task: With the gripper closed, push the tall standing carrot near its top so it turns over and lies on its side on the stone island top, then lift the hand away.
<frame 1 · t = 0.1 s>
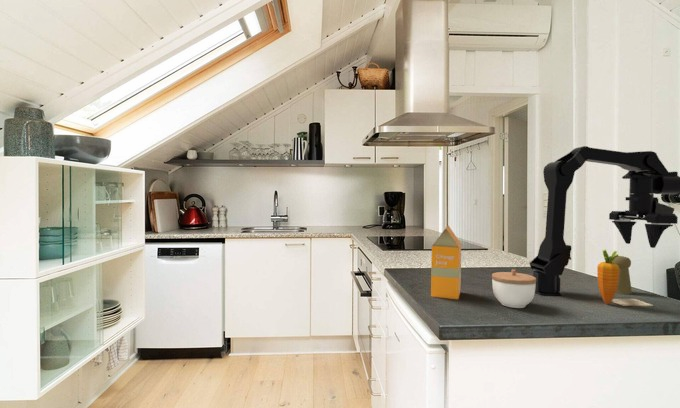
hand: (639, 245, 111), 15 cm above the countertop, fingers open, 9 cm apart
carrot: (607, 305, 99), on the countertop
lidded jar: (512, 305, 98), on the countertop
beige rectangular sheet: (629, 302, 101), on the countertop
cork: (619, 292, 113), on the countertop
orange juice: (446, 294, 108), on the countertop
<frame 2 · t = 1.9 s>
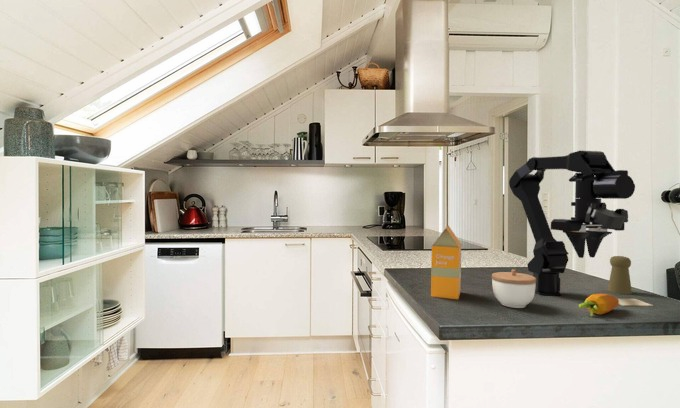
hand: (586, 257, 97), 13 cm above the countertop, fingers open, 3 cm apart
carrot: (617, 300, 96), point 2 cm above the countertop
everything else where it was.
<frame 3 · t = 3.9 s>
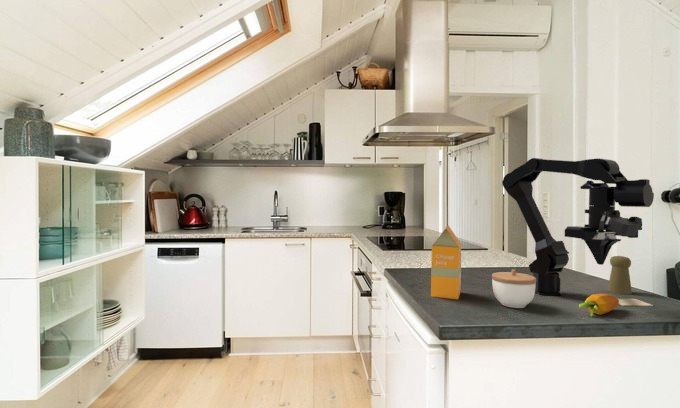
hand: (600, 264, 98), 11 cm above the countertop, fingers closed
nothing on the countertop moved.
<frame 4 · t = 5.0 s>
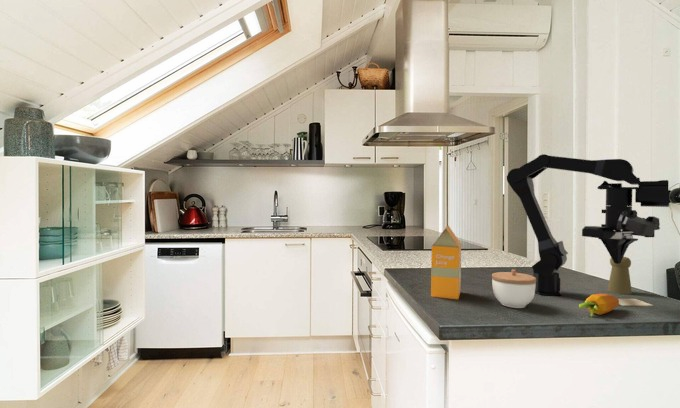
hand: (617, 263, 100), 11 cm above the countertop, fingers closed
nothing on the countertop moved.
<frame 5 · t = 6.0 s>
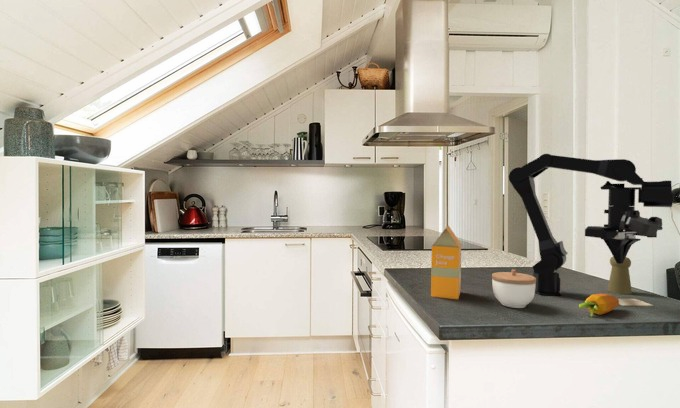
hand: (619, 263, 100), 11 cm above the countertop, fingers closed
nothing on the countertop moved.
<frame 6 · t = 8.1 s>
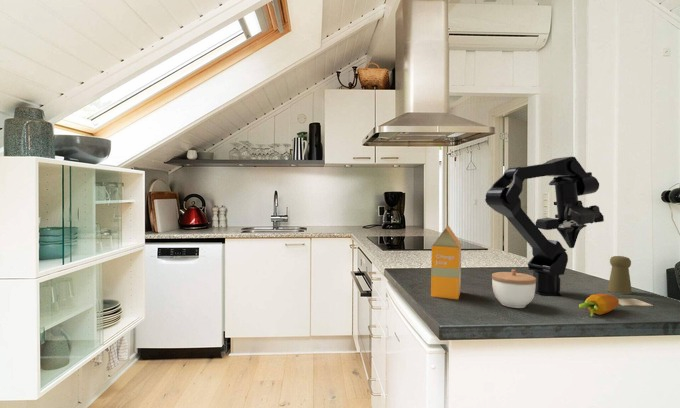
hand: (571, 247, 114), 13 cm above the countertop, fingers closed
nothing on the countertop moved.
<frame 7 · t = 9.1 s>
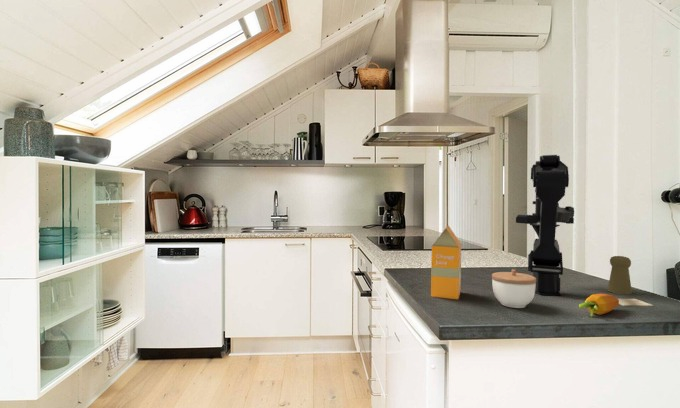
hand: (544, 244, 123), 13 cm above the countertop, fingers closed
nothing on the countertop moved.
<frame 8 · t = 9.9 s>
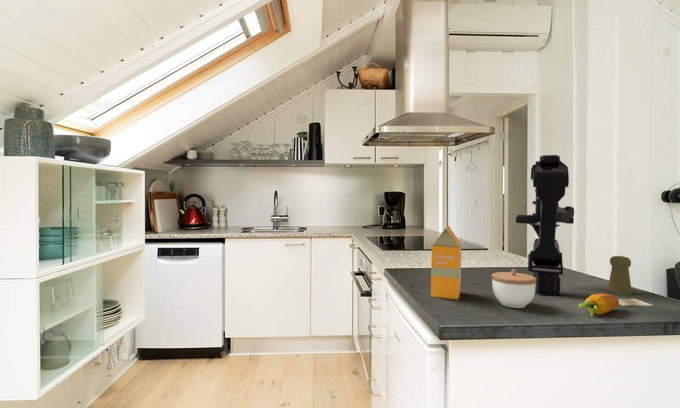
hand: (544, 244, 123), 13 cm above the countertop, fingers closed
nothing on the countertop moved.
at the end: carrot tilted 89°; carrot inside the target area (7.4 cm from its centre), point 2.1 cm above the countertop; the gripper is holding nothing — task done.
